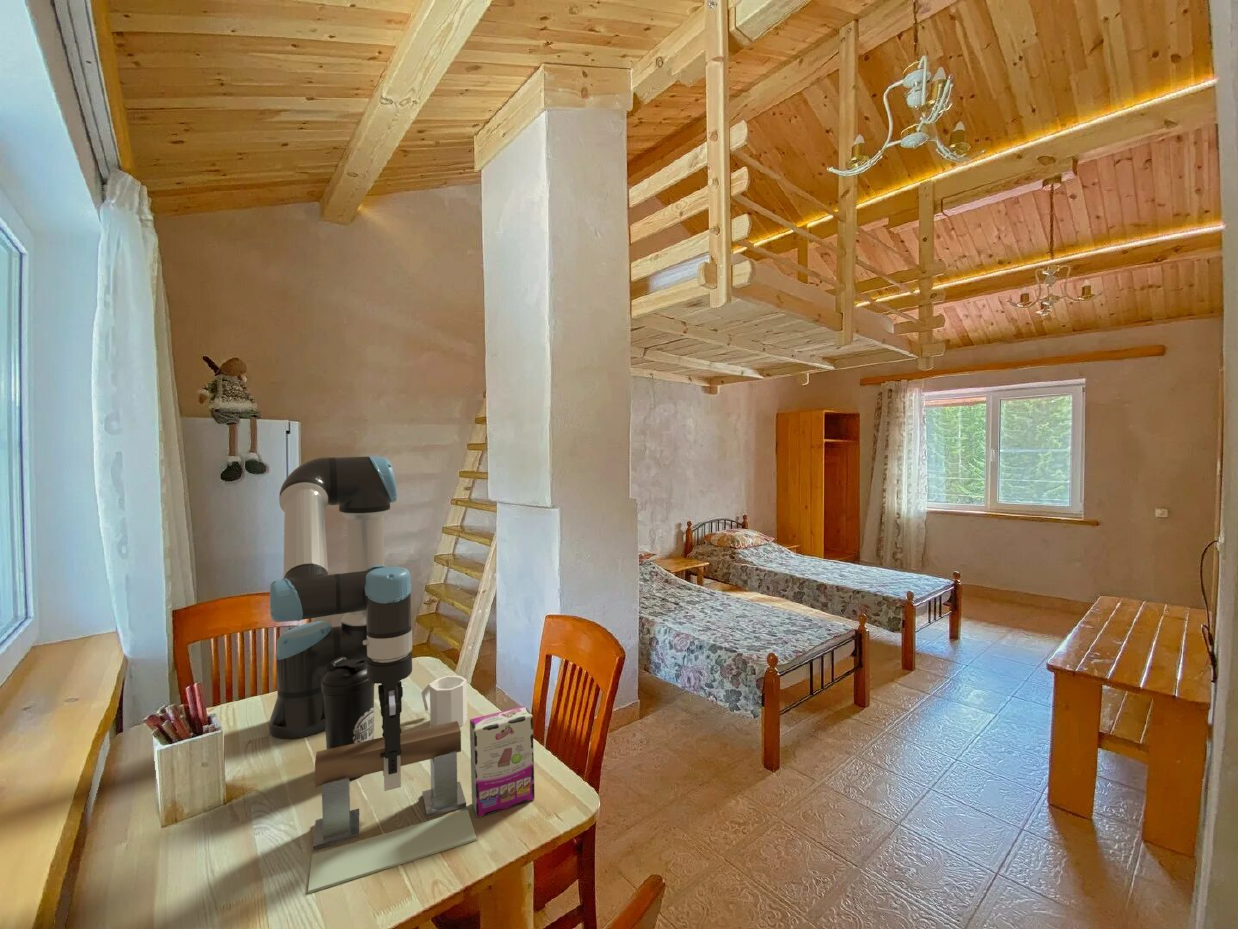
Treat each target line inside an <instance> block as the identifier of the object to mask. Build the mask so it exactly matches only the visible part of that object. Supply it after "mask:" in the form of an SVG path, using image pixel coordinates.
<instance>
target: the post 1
mask: <svg viewBox="0 0 1238 929" xmlns="http://www.w3.org/2000/svg"><path fill="white" fill-rule="evenodd" d="M350 789H351V788H350V781H349V779H348V777H345V778H341V779H336V780H332V781H328V782H324V783H322V786H321V808H322V809H321V811H322V812H321V813H322V818H318V819H315V822H314V823H315V824H314V832H313V840H312V841H313V842H312V851H313V852H314V851H319V850H320V849H324V848H327V847H332V846H334V845H339V844H342V843H345V842H348V841H352V840H356V839H358V838H360V808H356V809H352V810H351V800H350V799H351V798H350V797H351V796H350Z"/></svg>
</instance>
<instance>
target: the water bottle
mask: <svg viewBox="0 0 1238 929" xmlns="http://www.w3.org/2000/svg"><path fill="white" fill-rule="evenodd" d="M367 659H368V658H361V659H353V660H347V659H346V658H345V657H344V656H342V657H339V658H337V659H335V660H334V661H332V662H330V663H329V664H327V667H326V668H327V671H328V672H327V673H326V674H325V675H324V677H323V678H322V680H321V690H322V693H323V695H324V712H325V730H324V731H325V742H326V750H327V749H331V748H336V747H340V746H345V745H349V744H354V743H359V742H363V741H368V740H372V739H375V684H376V683H372V682H370V681H369V680H368V678H367ZM361 777H363V776H359V777H355V778H351V779H349V782H350V781H353V780H357V779H361Z"/></svg>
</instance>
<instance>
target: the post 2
mask: <svg viewBox="0 0 1238 929" xmlns="http://www.w3.org/2000/svg"><path fill="white" fill-rule="evenodd" d="M429 760H430V789H426V790H422V791H421V792H422V800H423V805H424V811H425V815H426V819H429V818H431V817H436V816H439V815H442V814H445V813H448V812H452V811H457V810H459V809H463V808H466V807H467V800H466V797H465V794H464V790H463V787H462V784H461V781H458V752H457V751H452V752H448V753H444V754H439V755H435V756H434V758H433V759H429Z"/></svg>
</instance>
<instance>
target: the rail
mask: <svg viewBox="0 0 1238 929" xmlns="http://www.w3.org/2000/svg"><path fill="white" fill-rule="evenodd" d="M400 743H401V755H400V761H401V767H403V766H407V765H413V764H416V763H419V762H425V761H428V760H430V759H433V758H434V756H435V755H439V754H444V753H448V752H452V751H457V753H461V752H462V731H461V727H459V724H458V721H455V722H450V723H445V724H441V725H436V726H432V727H431V726H428V727H423V728H419V729H414V730H410V731H405V732H402V733H400ZM384 751H385V741H384V737H383V736H382V737H378V738H374V739H372V740H368V741H363V742H359V743H354V744H349V745H345V746H340V747H336V748H331V749H327V748H326V749H324V750H319V751H316V754H315V759H314V760H315V761H314V777H315V778H314V779H315V782H314V783H315V788H317V787H320V786H321V787H322V783H324V782H328V781H332V780H336V779H341V778H345V777H348V779H351V778H355V777H359V776H362V777H363V776H367V775H370V774H374V773H379V772H383V770H384V757H383V758H380V753H383V752H384Z"/></svg>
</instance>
